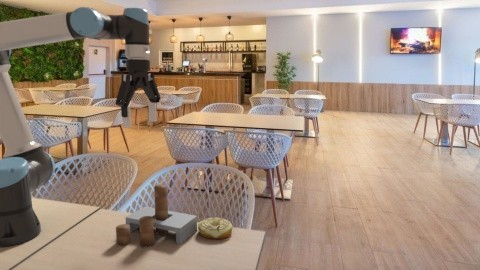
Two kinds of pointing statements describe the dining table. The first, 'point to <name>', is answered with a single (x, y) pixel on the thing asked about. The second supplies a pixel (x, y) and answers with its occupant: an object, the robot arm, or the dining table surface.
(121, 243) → the short dowel
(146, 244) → the medium dowel
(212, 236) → the decorated donut
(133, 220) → the bridge
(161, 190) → the long dowel
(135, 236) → the dining table surface
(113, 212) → the dining table surface
